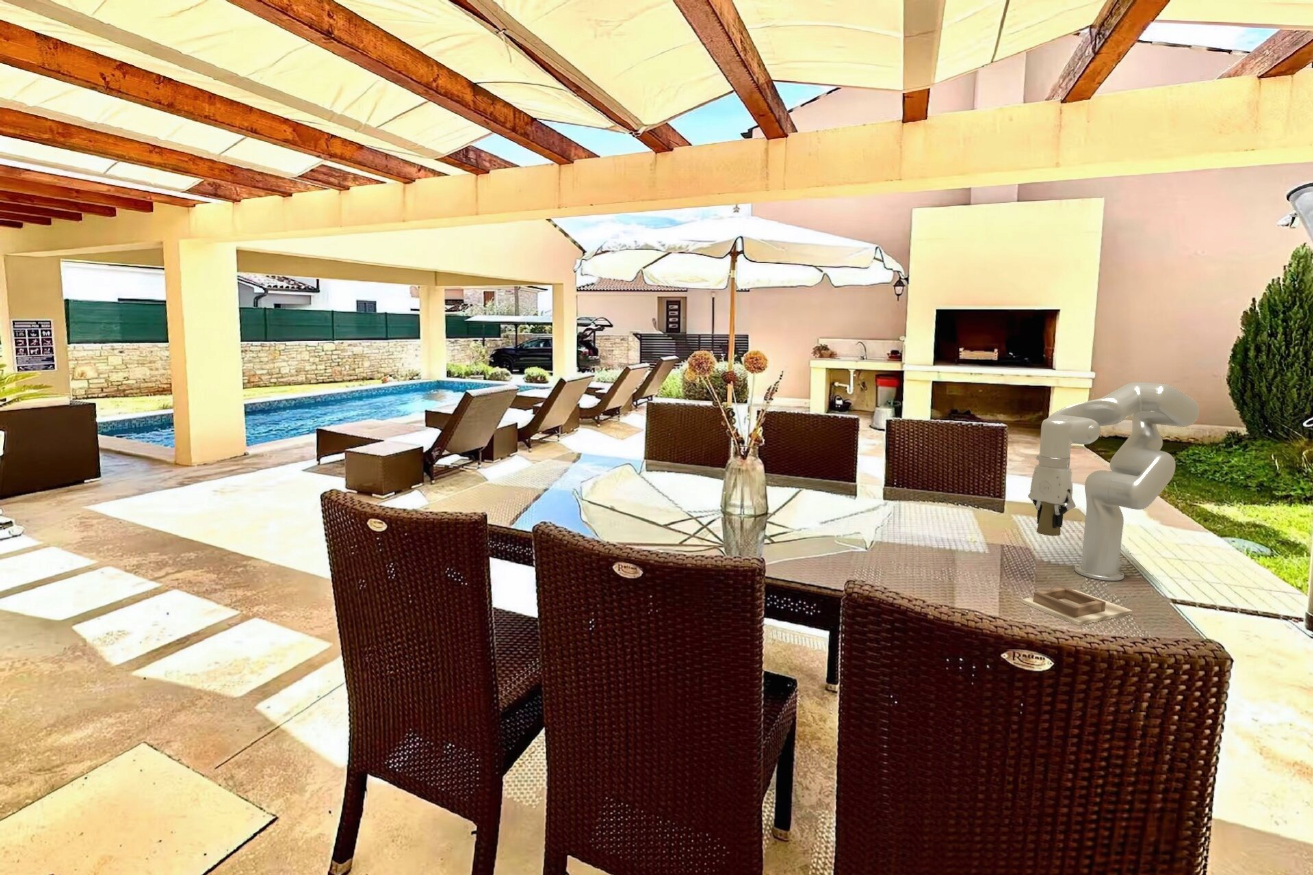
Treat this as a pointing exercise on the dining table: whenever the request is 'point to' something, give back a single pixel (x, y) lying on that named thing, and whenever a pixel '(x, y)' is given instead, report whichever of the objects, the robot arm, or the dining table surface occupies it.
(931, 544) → the dining table surface
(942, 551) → the dining table surface
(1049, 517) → the cork
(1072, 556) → the dining table surface
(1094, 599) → the socket stand
